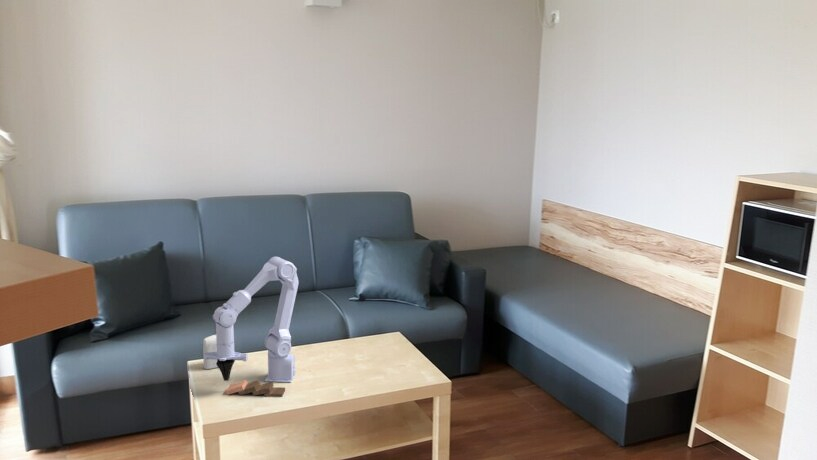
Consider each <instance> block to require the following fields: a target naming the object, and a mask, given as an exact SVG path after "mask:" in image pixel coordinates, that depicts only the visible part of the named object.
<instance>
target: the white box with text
mask: <svg viewBox="0 0 817 460" xmlns="http://www.w3.org/2000/svg"><path fill="white" fill-rule="evenodd" d="M202 345H203V346H202V352H203V355H202V356H203V357H202V358H203V369H204V370H211V369H212V370H213V369H217V368H218V366H217V365H216V363H217V359H207V360H204V354H205V353H206V352H217V343H216V334H212V335H210V336H207V337H205V338H203V341H202Z"/></svg>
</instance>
